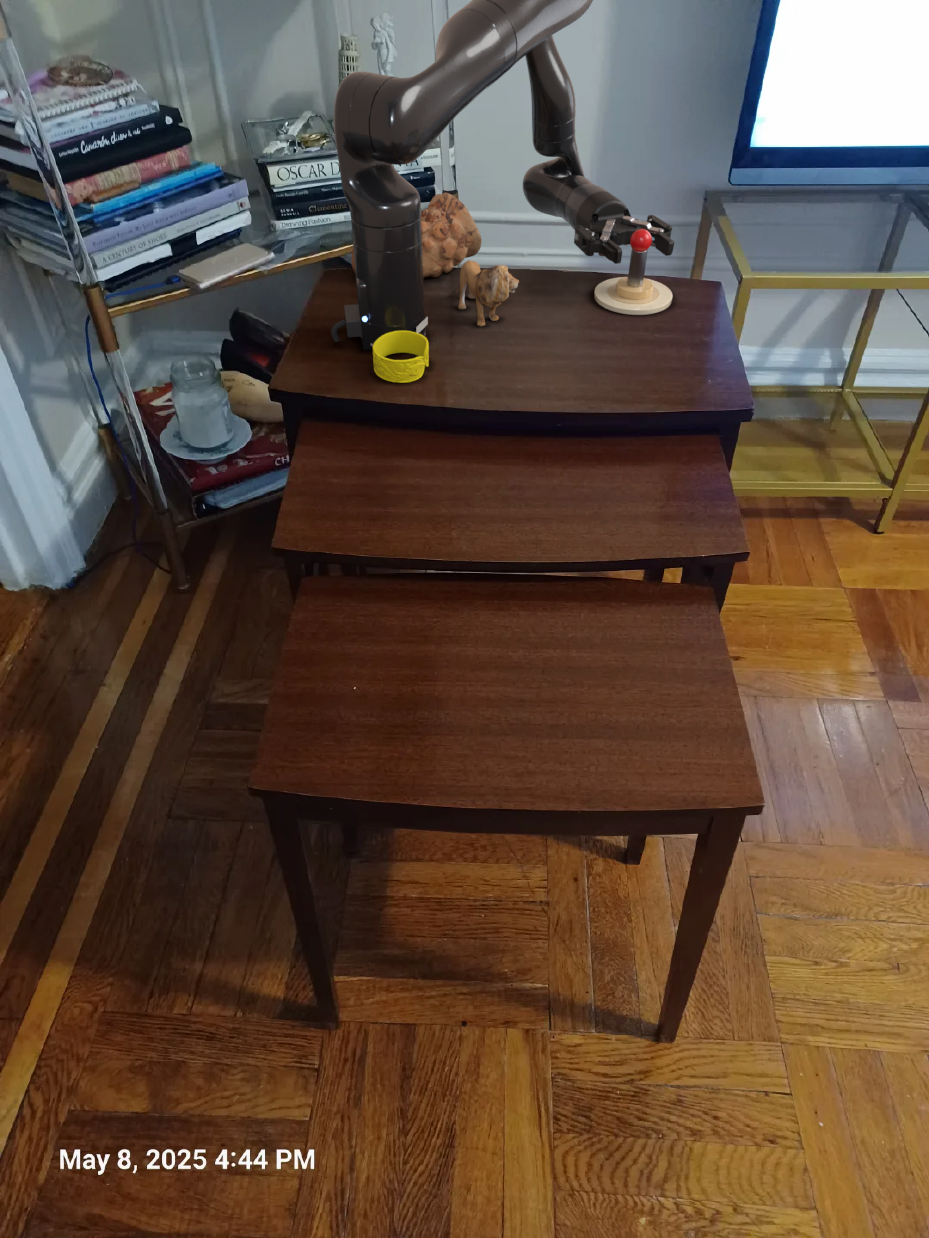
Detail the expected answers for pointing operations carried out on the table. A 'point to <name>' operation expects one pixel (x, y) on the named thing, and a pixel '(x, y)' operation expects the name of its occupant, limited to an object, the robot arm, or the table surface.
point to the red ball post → (637, 269)
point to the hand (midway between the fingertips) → (645, 253)
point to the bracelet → (400, 344)
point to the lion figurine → (485, 287)
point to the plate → (616, 303)
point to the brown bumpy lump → (445, 235)
